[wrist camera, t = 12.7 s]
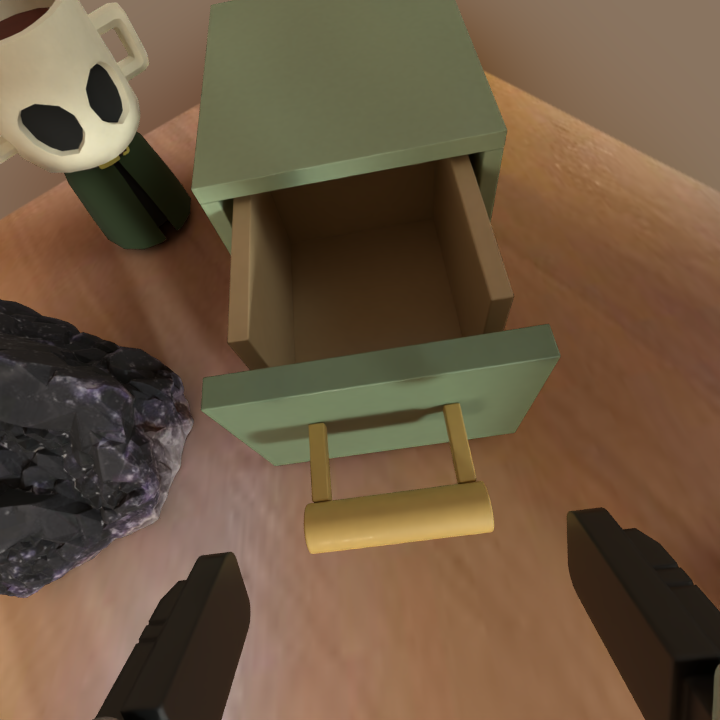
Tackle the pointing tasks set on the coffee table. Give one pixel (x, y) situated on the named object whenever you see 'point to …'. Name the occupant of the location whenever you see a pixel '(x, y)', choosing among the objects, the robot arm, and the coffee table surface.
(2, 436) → the black rock
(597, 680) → the coffee table surface
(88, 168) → the character mug
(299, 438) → the drawer
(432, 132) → the cabinet
